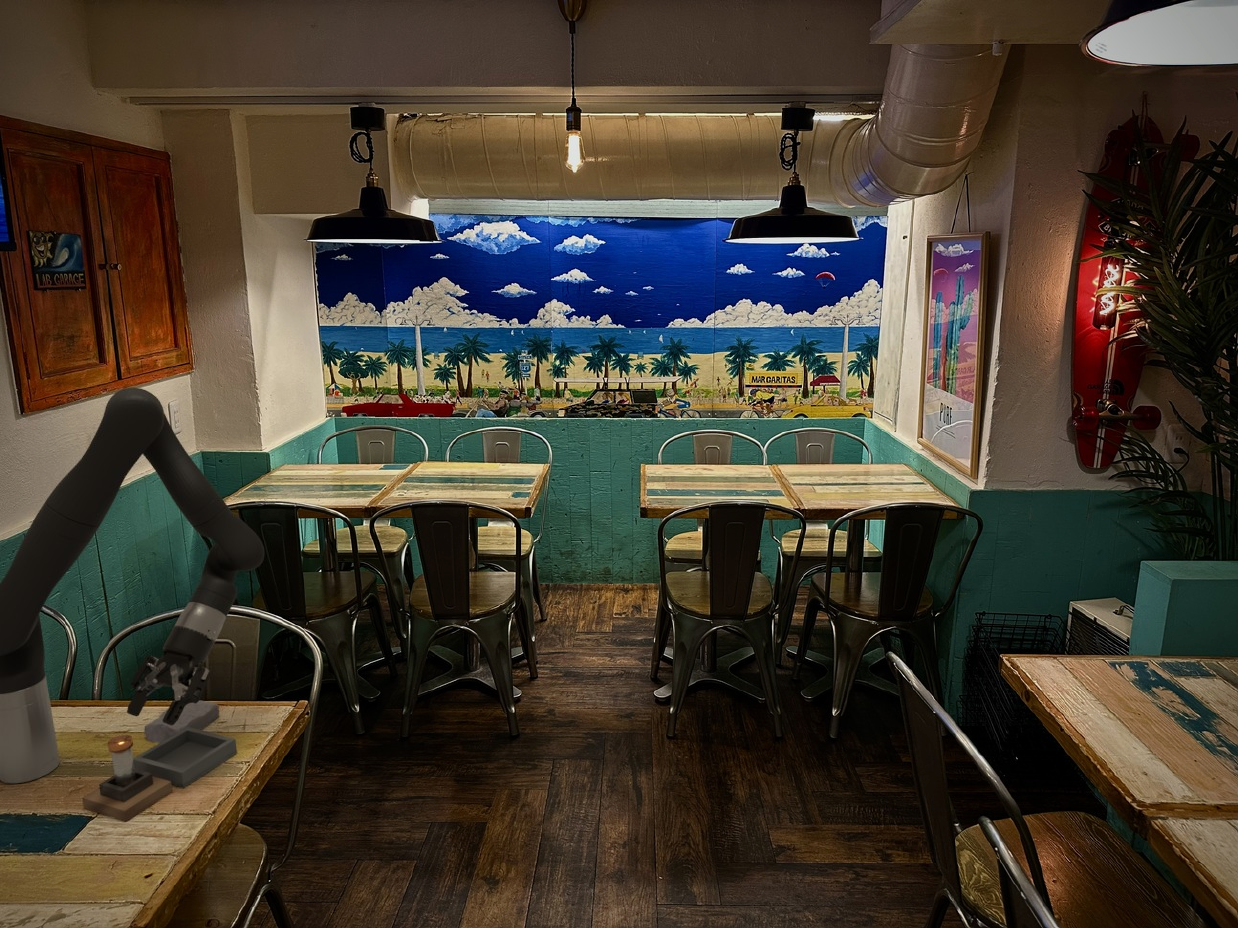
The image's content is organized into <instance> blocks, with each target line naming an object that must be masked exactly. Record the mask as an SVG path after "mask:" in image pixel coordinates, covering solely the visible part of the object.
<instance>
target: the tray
mask: <svg viewBox="0 0 1238 928" xmlns="http://www.w3.org/2000/svg"><path fill="white" fill-rule="evenodd" d="M237 754H238V748H237V741H236V738H234V737H229V736H225V735H222V734H217V733H214V732H209V731H205V730H203V729H202V730H198V729H194V728H190V727H187V728H185V729H183V730H181V731H180V732H178V733H176V734H174V735H173V736H171V737H169V738H168V739H166V740H164V741H162V742H161V743H157V744H156V745H154V746H152V747H150V748H149V749H147V750H145V751H144V752H142V753H140V754H138V755H137V756H135V757H133V761H134V768H135V769H137V770H141V771H144V772H148V773H151V774H152V776H154V777H157V778H161V779H164V780H168V781H171V784H172V786H173V787H178V788H181V787H182V789H185V788H187V787H188V786H190V785H192V784H193V783H194V782H196V781H197V780H199V779H200V778H202V777H203V776H205V775H207V774H208V773H209V772H211V771H213V770H215V769H216V768H217V767H219V766H221V764H224V763H225V762H226V761H228V760H229V759H231V758H233V757H234V756H235V755H237ZM189 784H190V785H189ZM186 786H187V787H186Z"/></svg>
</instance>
